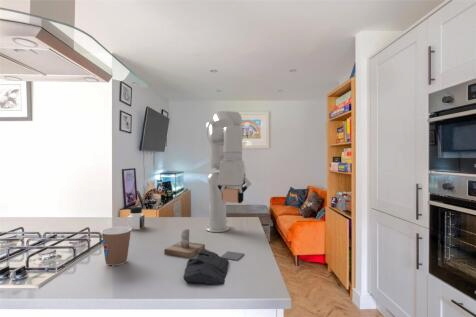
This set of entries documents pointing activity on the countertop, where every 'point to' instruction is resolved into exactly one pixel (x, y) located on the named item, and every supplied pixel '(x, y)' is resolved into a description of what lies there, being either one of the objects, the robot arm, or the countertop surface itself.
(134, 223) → the medicine bottle
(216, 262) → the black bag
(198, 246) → the square brown stand
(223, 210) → the robot arm
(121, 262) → the coffee cup
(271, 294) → the countertop surface
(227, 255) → the mat
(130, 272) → the countertop surface
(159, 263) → the countertop surface
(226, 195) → the peach colored cube
